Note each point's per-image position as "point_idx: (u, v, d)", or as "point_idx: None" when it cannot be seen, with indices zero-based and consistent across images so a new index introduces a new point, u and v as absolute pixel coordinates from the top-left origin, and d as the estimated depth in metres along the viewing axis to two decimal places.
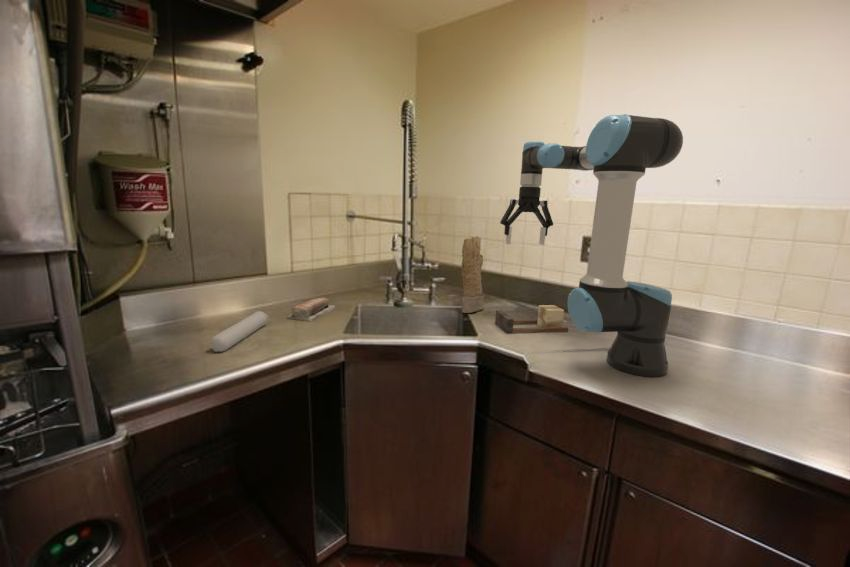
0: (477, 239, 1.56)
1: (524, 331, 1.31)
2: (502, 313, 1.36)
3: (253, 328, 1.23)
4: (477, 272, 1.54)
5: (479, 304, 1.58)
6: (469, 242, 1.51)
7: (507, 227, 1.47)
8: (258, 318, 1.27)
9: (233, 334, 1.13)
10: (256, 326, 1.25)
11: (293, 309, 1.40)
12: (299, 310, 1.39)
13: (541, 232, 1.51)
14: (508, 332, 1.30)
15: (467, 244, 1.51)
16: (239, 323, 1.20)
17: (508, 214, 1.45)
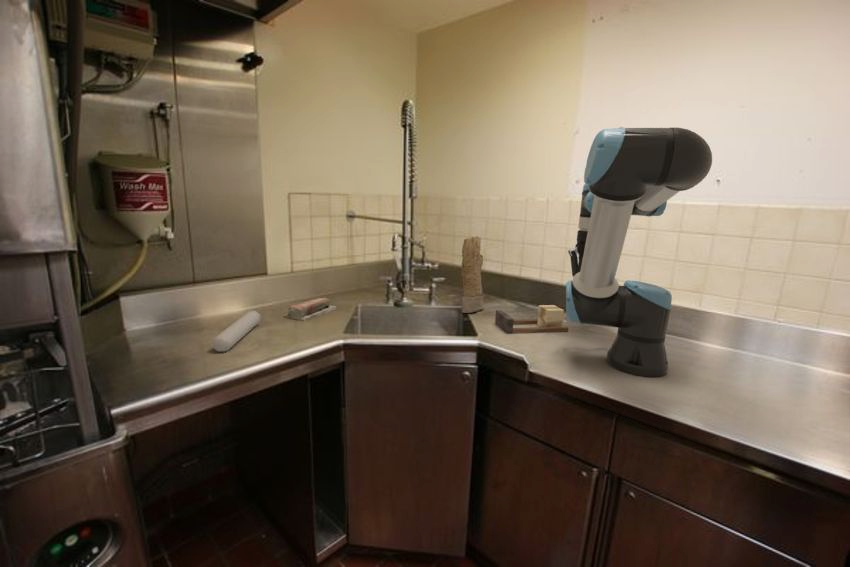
0: (477, 239, 1.56)
1: (524, 331, 1.31)
2: (502, 313, 1.36)
3: (249, 327, 1.24)
4: (477, 272, 1.54)
5: (479, 304, 1.58)
6: (469, 242, 1.51)
7: None
8: (252, 318, 1.27)
9: (234, 334, 1.13)
10: (252, 325, 1.25)
11: (289, 308, 1.41)
12: (294, 309, 1.40)
13: None
14: (508, 332, 1.30)
15: (467, 244, 1.51)
16: (236, 323, 1.20)
17: (576, 267, 1.35)
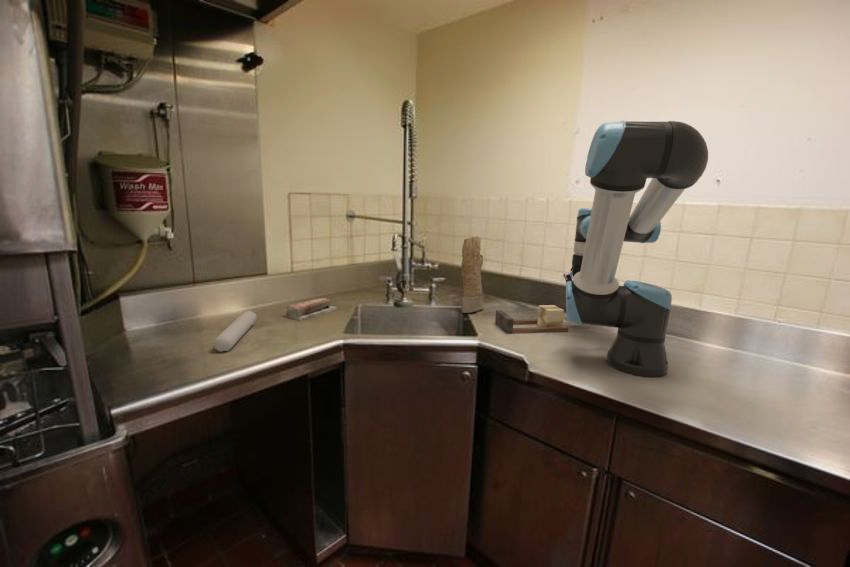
0: (477, 239, 1.56)
1: (524, 331, 1.31)
2: (502, 313, 1.36)
3: (247, 327, 1.24)
4: (477, 272, 1.54)
5: (479, 304, 1.58)
6: (469, 242, 1.51)
7: None
8: (249, 318, 1.27)
9: (234, 333, 1.13)
10: (249, 325, 1.26)
11: (288, 307, 1.42)
12: (292, 309, 1.40)
13: None
14: (508, 332, 1.30)
15: (467, 244, 1.51)
16: (235, 323, 1.20)
17: None
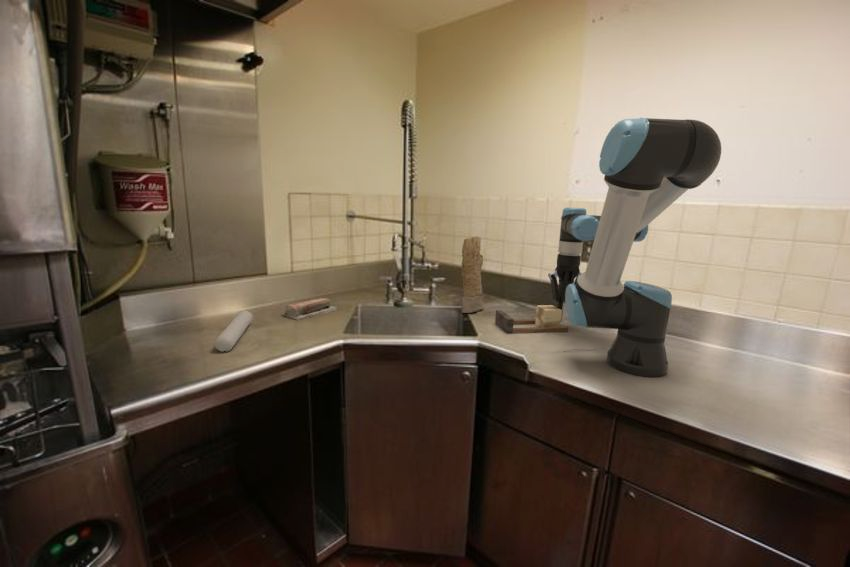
0: (477, 239, 1.56)
1: (524, 331, 1.31)
2: (502, 313, 1.36)
3: (245, 327, 1.24)
4: (477, 272, 1.54)
5: (479, 304, 1.58)
6: (469, 242, 1.51)
7: (560, 304, 1.37)
8: (246, 318, 1.27)
9: (235, 333, 1.14)
10: (247, 325, 1.26)
11: (286, 307, 1.43)
12: (290, 308, 1.41)
13: None
14: (508, 332, 1.30)
15: (467, 244, 1.51)
16: (233, 323, 1.20)
17: (556, 290, 1.35)
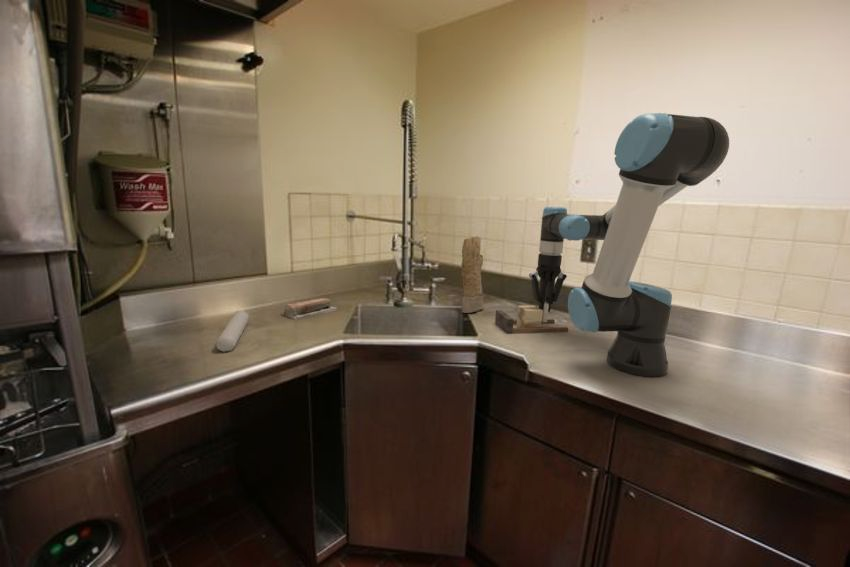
0: (477, 239, 1.56)
1: (524, 331, 1.31)
2: (502, 313, 1.36)
3: (243, 327, 1.24)
4: (477, 272, 1.54)
5: (479, 304, 1.58)
6: (469, 242, 1.51)
7: (542, 304, 1.36)
8: (243, 318, 1.27)
9: (235, 333, 1.14)
10: (244, 325, 1.26)
11: (285, 306, 1.43)
12: (288, 308, 1.42)
13: None
14: (508, 332, 1.30)
15: (467, 244, 1.51)
16: (232, 323, 1.20)
17: (537, 290, 1.34)
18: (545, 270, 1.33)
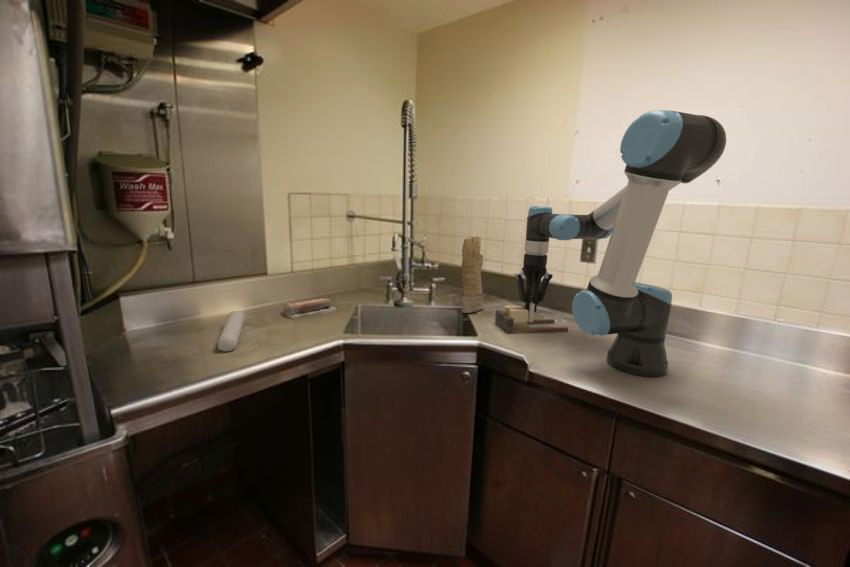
0: (477, 239, 1.56)
1: (524, 331, 1.31)
2: (502, 313, 1.36)
3: (241, 327, 1.24)
4: (477, 272, 1.54)
5: (479, 304, 1.58)
6: (469, 242, 1.51)
7: (528, 304, 1.35)
8: (240, 318, 1.27)
9: (235, 333, 1.14)
10: (242, 325, 1.26)
11: None
12: (287, 307, 1.42)
13: None
14: (508, 332, 1.30)
15: (467, 244, 1.51)
16: (230, 323, 1.20)
17: (522, 290, 1.33)
18: (531, 270, 1.32)
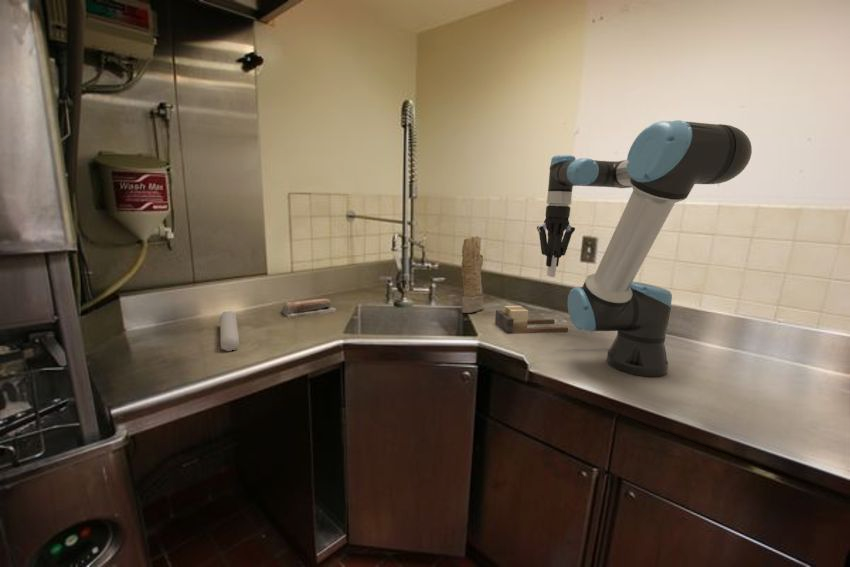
0: (477, 239, 1.56)
1: (524, 331, 1.31)
2: (502, 313, 1.36)
3: None
4: (477, 272, 1.54)
5: (479, 304, 1.58)
6: (469, 242, 1.51)
7: (550, 258, 1.32)
8: (234, 318, 1.27)
9: (236, 332, 1.14)
10: None
11: (284, 304, 1.46)
12: (285, 305, 1.44)
13: None
14: (508, 332, 1.30)
15: (467, 244, 1.51)
16: (227, 323, 1.19)
17: (545, 243, 1.30)
18: (553, 222, 1.29)
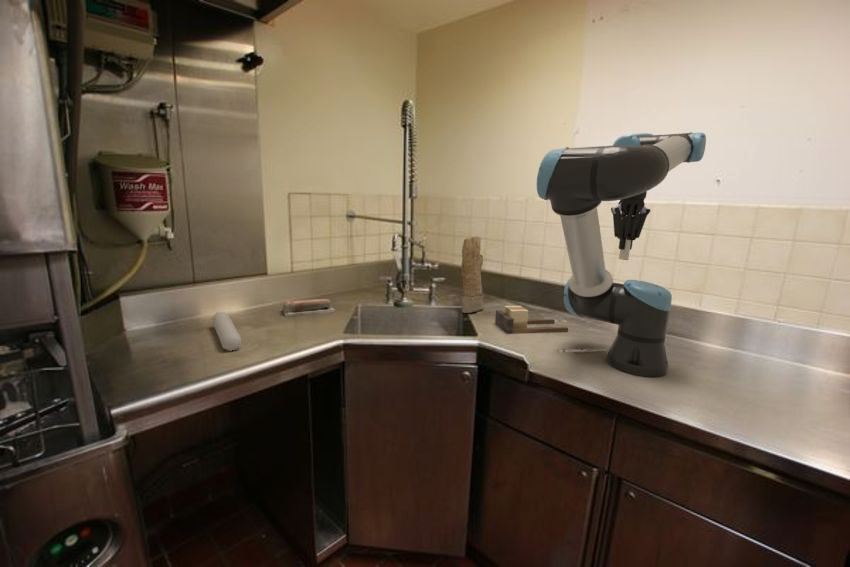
0: (477, 239, 1.56)
1: (524, 331, 1.31)
2: (502, 313, 1.36)
3: None
4: (477, 272, 1.54)
5: (479, 304, 1.58)
6: (469, 242, 1.51)
7: (623, 241, 1.29)
8: (228, 318, 1.26)
9: (236, 332, 1.15)
10: None
11: (284, 302, 1.48)
12: (284, 304, 1.46)
13: None
14: (508, 332, 1.30)
15: (467, 244, 1.51)
16: (225, 323, 1.19)
17: (620, 225, 1.27)
18: (629, 203, 1.26)
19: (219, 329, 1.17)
